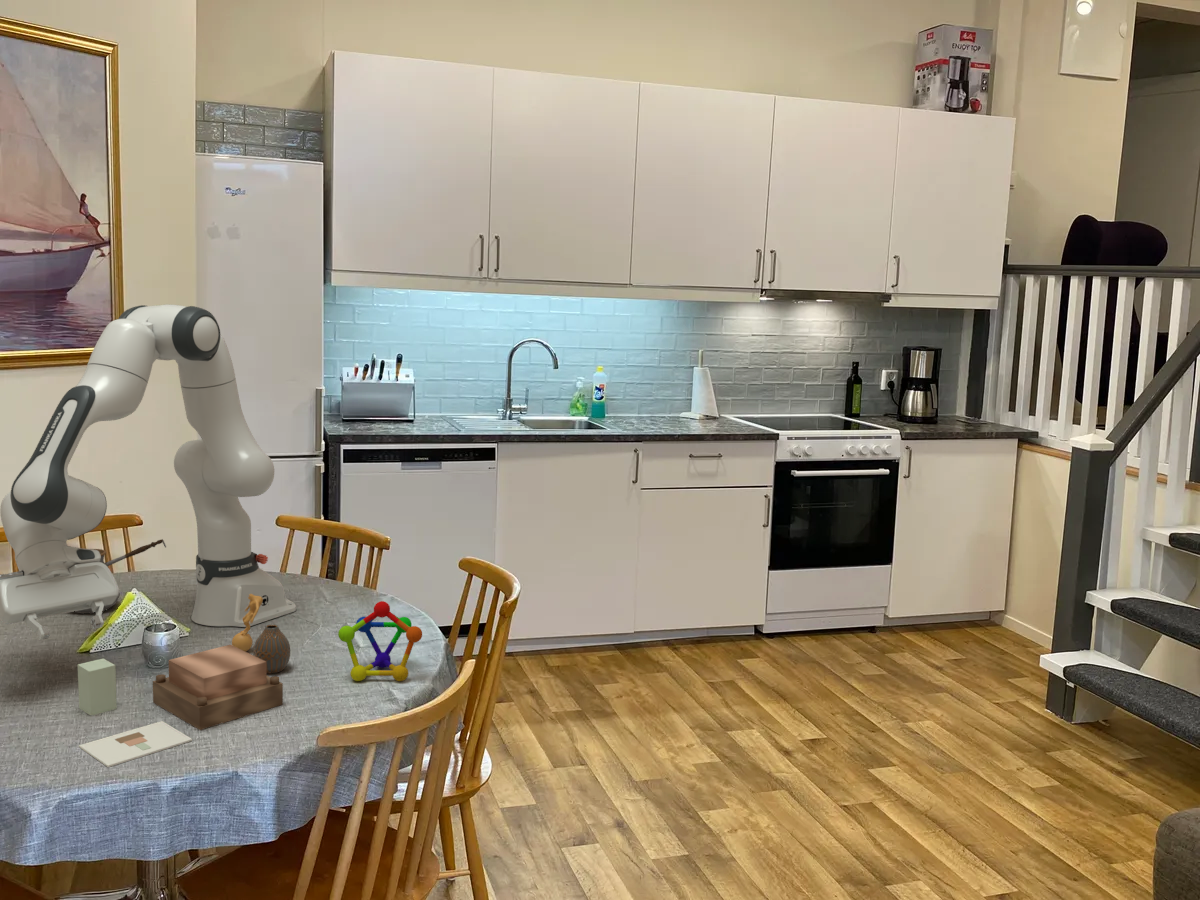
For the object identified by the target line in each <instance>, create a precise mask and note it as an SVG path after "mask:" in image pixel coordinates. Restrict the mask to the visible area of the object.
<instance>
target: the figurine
mask: <svg viewBox="0 0 1200 900" xmlns="http://www.w3.org/2000/svg"><path fill="white" fill-rule="evenodd" d="M248 599H250V603H249V605H248V607H247V608H246V609H245V612H246V611H247V610H248V608H249V607H250V611H249V612H248V613H247V614H246V615H245V617H243V622H244V625H246V627H244V629H243V630H241V631H240V632H238V633H236V634H235V635H234V636H233V637H232V639H231V645H232V646H234V647H237V648H239V649H241V650H243V651H245V652H247V651H249V650H250V649H251V647H252V646H253V642H254V641H253V638H252V636H251V635H250V634H249V633H248V632H249V631H250V630H251V626H250V624H251V623H250V622H253V620H254V617H255V616H256V614H257V612H258V610H259V607H260V606H261V604H262V602H263V599H262V597H260V596H255V595H253V594H250V595H249V597H248ZM250 620H251V621H250ZM249 621H250V622H249ZM249 623H250V624H249Z"/></svg>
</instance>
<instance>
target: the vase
mask: <svg viewBox="0 0 1200 900" xmlns="http://www.w3.org/2000/svg"><path fill="white" fill-rule="evenodd" d="M252 655H253V656H255V657H258V658H260V659H262V660H264V661H266V672H267V674H276V673H281V671H283V670H284V669H285V668H286V667H287V665H288V664H289V662H290V658H291V645H290V642H289V640H288V638H287V636H286V635H285V634H284V633H283V632H282V631H281V629H280V628H279V625H277V624H268V625H266V626H265V627H264V629H263V631H262V632H261V634H260V635H258V637H257V639H256V640H255V642H254V646H253V652H252Z"/></svg>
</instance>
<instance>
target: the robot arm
mask: <svg viewBox="0 0 1200 900" xmlns="http://www.w3.org/2000/svg"><path fill="white" fill-rule="evenodd" d="M157 360H159V361H175V362H176V364H177V367H178V378H179V383H180V388H181V395H182V400H183V405H184V409H185V411H184V412H185V416H186V419H187V421H188V423H189V425H190V426H191V427H192V428H193V429H194V430H195V432H197V434H198V435H199V437H200V439H193V440H188V441H186V442H184V443H183V444H181V446H180V447H179V448H178V450H176V453H175V455H174V458H173V468H174V471H175V472H174V473H176V475H177V477H178V478H179V479H180V480H181V481H182V483H183V484H184V486H185V488H186V491H187V493H188V495H189V499H190V502H191V504H192V508H193V511H194V514H195V521H196V526H197V528H196V529H197V530H196V533H197V555H196V556H195V577H196V581H197V585H196V593H195V599H194V600H195V601H194V605H193V609H192V613H191V617H190V619H191V620H192V621H193V623H196V624H198V625H203V626H209V627H210V626H211V627H239V628H241V627H242V628H246V625H244V622H243V617H245V615H246V614H247V613H248V612H249V611H250V607H249V608H248V610H247V611H246V612H245V609H246V608H247V607H248V605H249V603H250V599H248V597H249V595H250V594H253V595H255V596H260V597H262V599H263V602H262V604H261V606H260V607H259V610H258V612H257V614H256V616H255V617H254V620H253V622H250V621H251V620H250V621H249V622H250V623H251V624H250V623H249V624H250V627H252V626H255V625H258V624H260V623H263V622H264V623H265V622H266V621H271V620H273V619H277V618H279V617H282V616H285V615H288V614H292V613H293V612H297V605H296V603H294V602H293V601H292V600H289V599H288V598H287V597H286V593H285V588H284V585H283V584H282V583H281V580H280V581H279V580H278V579H277V578H275V577H274V576H272V575H271V574H269V573H268V572H266V571H265V570H264V569H262V568H260V567H259V564H258V563H260V564H261V565H265V564H267V563H268V560H269V557H268V556H267V555H266V554H263V553H259V554H257V553H255V552H254V551H252V522H251V518H250V515H249V514H248V512H247V511H246V510H245V509H244V508H243V506H242V505H241V502H240V500H239V499H240V498H249V497H258V496H261V495H263V494H265V493H266V492H267V491H268V489H269V488H270V487H271V485H272V484H273V482H274V478H275V466H274V462H273V461H272V459H271V457H270V456H269V455H267V453H266V452H265V451H264V450H263V449H262V448H261V447H260V445H259V444H258V442H257V441H256V439H255V437H254V435H253V433H252V430H250V427H249V425H248V423H247V421H246V419H245V416H244V413H243V410H242V405H241V400H240V395H239V390H238V386H237V380H236V373H235V369H234V365H233V364H234V363H233V361H232V356H231V354H230V351H229V348H228V346H227V343H226V341H225V338H224V337H223V335H222V334H221V329H220V325H219V323H218V321H217V318H216V317H215V316H214V315H213V313H212V312H211V311H209V310H206V309H205V308H202V307H198V306H193V305H190V306H189V305H188V306H185V305H181V304H180V305H179V304H168V303H166V304H161V305H160V304H159V305H142V304H141V305H137V306H132V307H130V308H128V309H126V310H124V311H123V312H122V313H121V314H120V316H119V317H118V319H114V320H112V321H110V322H109V323H108V324H107V325H106V326H105V327H104V329H103V331H102V333H101V335H100V336H99V338H98V340H97V342H96V344H95V346H94V348H93V349H92V352H91V353H90V357H89V360H88V363H87V364H86V368H85V370H84V373H83V374H82V377H81V379H80V380H79V382H78V383H77V384H76V385H75V386H74V387H71V388H70V389H69V390H68V391H66V393H65V394H64V395H63V396H62V398H61V400H60V401H59V402H58V404H57V406H56V408H55V410H54V412H53V414H52V416H51V418H50V419H49V422H48V423H47V425H46V428H45V430H44V431H43V433H42V435H41V437H40V439H39V441H38V443H37V445H36V447H35V449H34V451H33V453H32V455H31V456H30V458H29V460H28V461H27V463H26V464H25V465H24V467H23V468H22V469H21V471H20V472H19V474H18V475H17V476H16V477H15V479H14V481H13V482H12V485H11V488H10V489H11V490H10V491H9V492H8V493H6V495H5V496H4V498H2V501H1V504H0V519H1V520H0V521H1V524H2V527H3V531H4V533H5V537H6V539H7V542H8V544H9V546H10V547H11V548H12V549H13V552H14V559H15V563H16V566H17V568H18V571H15V572H14V571H13V572H9V573H5V574H4V573H2V574H1V573H0V621H1V622H2V624H3V623H4V624H5V625H12V624H17V623H23V622H24V625H25V626H26V628H28V629H29V630H31V631H32V632H33V633H35V634H36V636H37V639H38V640H39V641H42V640H46V639H49V637H50V635H51V633H50V630H49V626H48V625H44V626H43V625H41V624H40V623H39V622H38V621H37V619H38V620H39V619H43V618H47V617H48V618H49V617H52V616H58V615H63V614H68V613H75V612H74V611H79V610H84V609H90V608H91V609H92V611H93V612H96V613H95V615H94V616H92V618H91V619H90V620H89V622H90V624H91V627H92V629H94V630H95V629H100V628H103V626H104V624H105V621H104V620H103V616H102V614H103V612H104V611H103V607H104V606H105V605H110V604H113V603H114V601H115V600H116V598H117V596H118V594H119V593H120V588H119V586H118V583H117V582H118V581H116V578H115V577H114V575H113V572H112V571H111V570H110V568H109V566H106V565H105V564H104V563H105V562H104V563H101V562H100V559H101V555H100V553H99V551H97V550H93V549H94V548H84V547H83V548H82V547H76V546H71V545H68V544H67V542H68V541H70V540H73V539H76V538H78V537H80V536H82V535H85V534H87V533H90V532H91V531H93V530H94V529H96V528H97V527H98V526H99V525H100V524H101V523H102V522H103V520H104V518H105V516H106V513H107V507H108V504H107V499H106V494H105V492H103V490H102V489H101V488H99V487H98V486H95V485H93V484H91V483H89V482H86V481H84V480H81V479H79V478H76V477H74V476H71V475H69V473H68V466H69V464H70V462H71V460H72V458H73V456H74V453H75V452H76V450H77V448H78V445H79V443H80V442H81V439H82V437H83V436H84V433H85V432H86V431H87V429H88V428H89V427H91V426H92V425H93V424H95V423H98V422H108V421H109V422H110V421H111V422H112V421H116V420H121V419H123V418H126V417H128V416H130V415H132V414H133V413H135V412H136V411H137V409H138V408H139V406H140V404H141V402H142V401H143V398H144V397H145V396H144V395H145V392H146V389H147V386H148V384H149V380H150V376H151V374H152V373H151V372H152V370H153V369H152V368H153V364H154V363H155V362H156V361H157ZM102 611H103V612H102Z"/></svg>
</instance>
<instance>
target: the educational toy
mask: <svg viewBox="0 0 1200 900" xmlns="http://www.w3.org/2000/svg"><path fill="white" fill-rule="evenodd" d="M376 618H387V619H389V620H391V621H374V620H375V619H376ZM372 628H396V630H397V631H395V634H394V636H393V637H392V639H391V641H390V642H389V644H388V646H387V647H386V649H385V651H383V652H382V650H381V647H379V645H378V642H377V641H376V638H375V636H374V635H373V633H372V631H371V629H372ZM356 632H360V633H365V635H366V637H367V638H368V639H367V640H369V642H370V645H371V646H372V648H373V651H374V652H375V654H376V655H375V657H374V661H373V662H371V663H369V664H367V665H366V666H364V665H362V664H359V659H358V657H357V653H356V650H355V648H354V644H353V640H354V638H355V635H356ZM337 634H338V635H337V636H338V638H339V640H340V641H342V642H344V643H346V645H347V649H348V652H349V655H350V659H351V661H352V665H353V667H352V668H351V669H350V672H349V673H350V677H351V679H352V680H353V681H354V682H362V681H363V680H365V679H366V678H367V677H370V676H371V677H379V676H380V677H383V676H384V677H392V678H393V679H394V680H395V681H396V682H403V681H405V680H407V678H408V676H409V669H408V667H407V664H408V661H409V658H410V655H411V652H412V650H413V647H414V644H415V643H417V642H420V641H421V639H422V637H423V631H422V629H421V627H419V626H417V625H413V624H412V620H411V619H410V618H408V617H406V616H401V617H398V616H397V615H395V614H394V613H392V612H391V606H390V604H389V603H388V602H386V601H383V600H382V601H377V602H376V603H375V604H374V607H373V612H371V613H370V614H368V615H366V616H360V617H359V618H358V619H357V620H356V622H355V624H354V625H353V626H351V625H344V626H341V627H340V628H339V630H338V633H337ZM402 634H405V637H406V639H407V641H408V643H407V645H406V648H405V651H404V654H403V657H402V660H401V662H400V664H398V665H394V664H393V663H392V662H391V659H392V658H391V655H390V654H391V653H392V650H393V649H394V647H395V646H396V644H397V642H398V640H399V638H400V637H401V636H402ZM376 667H377V668H380V669H382V670H376V669H375V668H376ZM386 668H388V669H389V670H387V669H386ZM373 669H375V670H373ZM383 669H384V670H383ZM385 669H386V670H385Z"/></svg>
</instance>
